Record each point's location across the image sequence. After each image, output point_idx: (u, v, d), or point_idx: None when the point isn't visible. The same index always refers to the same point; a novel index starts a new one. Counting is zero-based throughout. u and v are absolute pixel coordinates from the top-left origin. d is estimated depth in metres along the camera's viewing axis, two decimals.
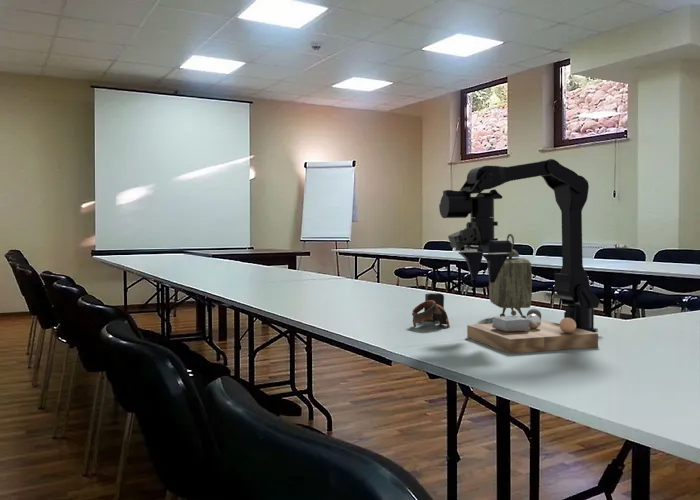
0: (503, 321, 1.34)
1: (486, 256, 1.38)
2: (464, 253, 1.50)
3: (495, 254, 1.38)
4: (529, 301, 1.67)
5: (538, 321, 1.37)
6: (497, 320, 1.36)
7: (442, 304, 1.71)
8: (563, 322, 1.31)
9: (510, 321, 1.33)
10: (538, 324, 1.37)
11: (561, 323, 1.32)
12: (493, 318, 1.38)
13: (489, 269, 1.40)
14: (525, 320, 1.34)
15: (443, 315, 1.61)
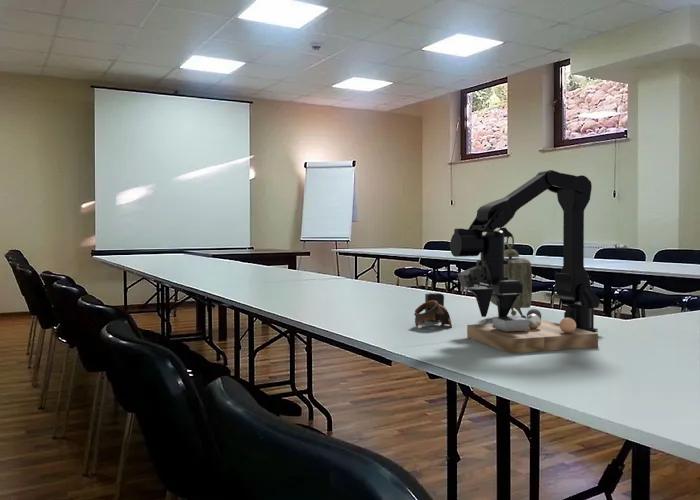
0: (503, 321, 1.34)
1: (496, 296, 1.37)
2: (474, 290, 1.49)
3: (505, 294, 1.37)
4: (529, 301, 1.67)
5: (538, 321, 1.37)
6: (497, 320, 1.36)
7: (442, 304, 1.71)
8: (563, 322, 1.31)
9: (510, 321, 1.33)
10: (538, 324, 1.37)
11: (561, 323, 1.32)
12: (493, 318, 1.38)
13: (499, 309, 1.39)
14: (525, 320, 1.34)
15: (445, 315, 1.61)
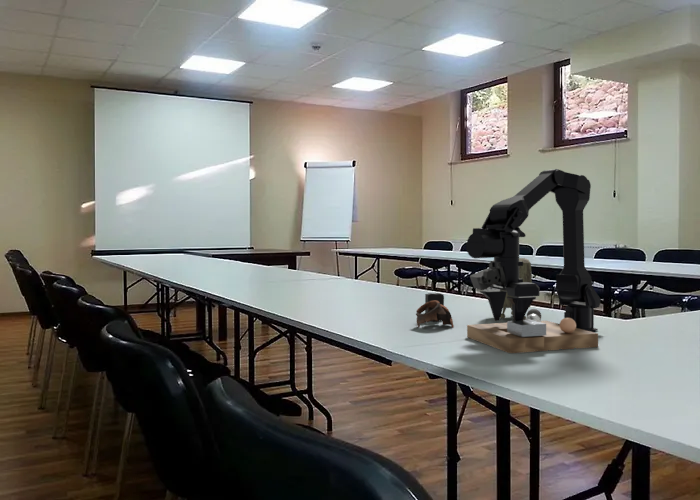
0: (519, 326, 1.27)
1: (511, 299, 1.31)
2: (486, 293, 1.42)
3: (521, 298, 1.30)
4: None
5: (538, 321, 1.37)
6: (512, 325, 1.30)
7: (442, 304, 1.71)
8: (563, 322, 1.31)
9: (526, 326, 1.27)
10: None
11: (561, 323, 1.32)
12: (508, 322, 1.32)
13: (514, 313, 1.33)
14: (542, 325, 1.28)
15: (447, 315, 1.61)
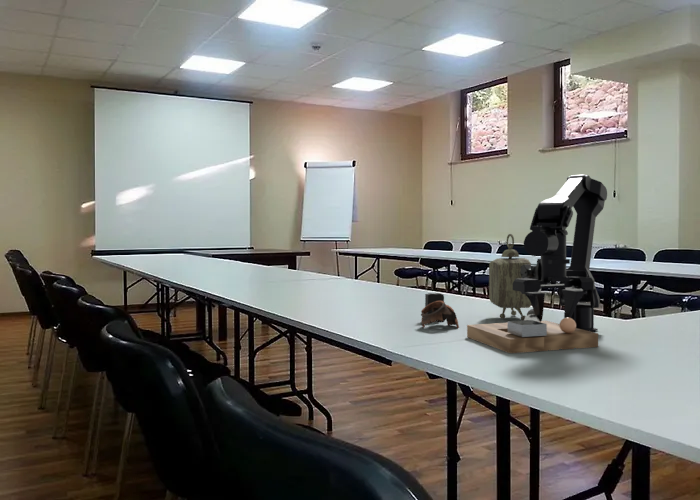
0: (519, 326, 1.27)
1: None
2: (562, 290, 1.43)
3: (524, 292, 1.38)
4: (529, 301, 1.67)
5: None
6: (512, 325, 1.30)
7: None
8: (563, 322, 1.31)
9: (527, 326, 1.27)
10: None
11: (561, 323, 1.32)
12: (508, 322, 1.31)
13: None
14: (542, 325, 1.28)
15: (452, 315, 1.60)
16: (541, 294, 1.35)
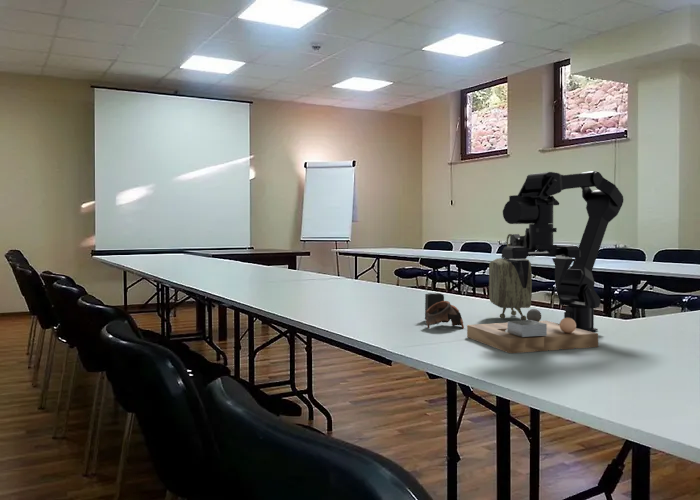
0: (519, 326, 1.27)
1: None
2: (553, 259, 1.49)
3: (510, 260, 1.44)
4: (529, 301, 1.67)
5: None
6: (512, 325, 1.30)
7: None
8: (563, 322, 1.31)
9: (527, 326, 1.27)
10: None
11: (561, 323, 1.32)
12: (508, 322, 1.31)
13: None
14: (542, 325, 1.28)
15: (457, 316, 1.60)
16: (525, 261, 1.41)
